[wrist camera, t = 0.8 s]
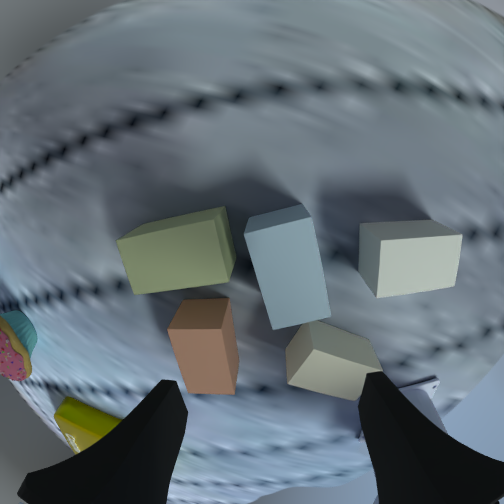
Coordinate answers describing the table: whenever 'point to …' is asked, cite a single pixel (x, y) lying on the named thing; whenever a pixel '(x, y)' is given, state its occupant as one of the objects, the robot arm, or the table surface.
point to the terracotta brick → (205, 345)
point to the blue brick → (288, 266)
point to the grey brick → (408, 256)
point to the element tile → (82, 423)
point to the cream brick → (329, 360)
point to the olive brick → (179, 252)
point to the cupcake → (16, 345)
